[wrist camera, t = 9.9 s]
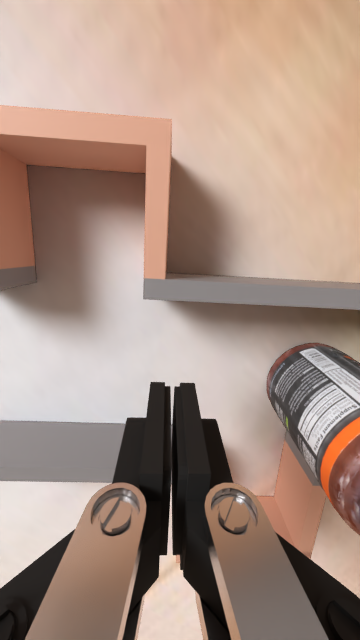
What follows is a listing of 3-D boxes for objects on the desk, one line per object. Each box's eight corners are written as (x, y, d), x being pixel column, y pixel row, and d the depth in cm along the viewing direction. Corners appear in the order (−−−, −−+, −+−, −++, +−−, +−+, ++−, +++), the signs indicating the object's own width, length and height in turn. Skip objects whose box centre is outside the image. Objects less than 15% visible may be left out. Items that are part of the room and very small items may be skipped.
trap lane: (-42, 139, 14) (-126, 94, 10) (434, 175, 15) (525, 148, 11) (10, 503, 20) (-29, 562, 16) (342, 506, 21) (380, 563, 17)
